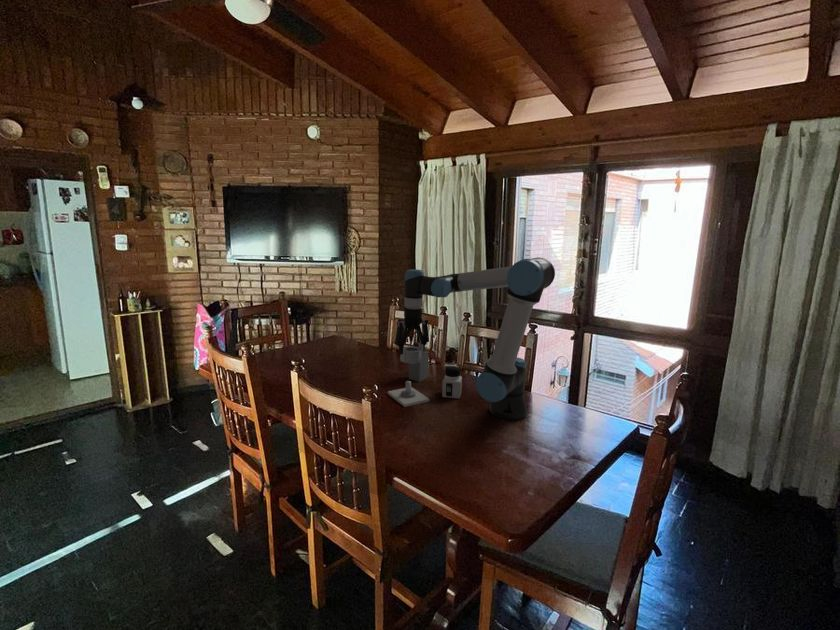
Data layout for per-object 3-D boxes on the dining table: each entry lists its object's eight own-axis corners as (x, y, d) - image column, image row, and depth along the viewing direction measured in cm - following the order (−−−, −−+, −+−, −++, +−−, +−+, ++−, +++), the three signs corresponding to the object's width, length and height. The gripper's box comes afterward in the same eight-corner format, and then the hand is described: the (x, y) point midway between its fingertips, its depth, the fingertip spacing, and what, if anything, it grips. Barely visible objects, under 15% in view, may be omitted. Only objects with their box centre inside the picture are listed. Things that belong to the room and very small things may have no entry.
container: (459, 398, 192) (460, 370, 189) (442, 397, 193) (442, 368, 191) (461, 392, 199) (462, 364, 197) (444, 390, 201) (445, 363, 198)
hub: (424, 362, 185) (425, 350, 184) (407, 364, 181) (408, 353, 180) (414, 356, 192) (415, 345, 190) (398, 358, 187) (399, 347, 186)
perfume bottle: (419, 381, 211) (420, 345, 208) (408, 378, 215) (409, 343, 212) (427, 378, 217) (428, 342, 213) (417, 375, 221) (417, 340, 217)
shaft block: (429, 401, 188) (429, 385, 187) (404, 406, 182) (404, 390, 181) (411, 389, 202) (411, 374, 200) (387, 393, 196) (387, 378, 194)
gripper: (429, 303, 190) (427, 354, 194) (386, 307, 179) (385, 360, 184) (439, 307, 183) (437, 359, 188) (395, 311, 173) (393, 366, 178)
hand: (411, 359), depth 186 cm, fingers closed on hub, 8 cm apart
